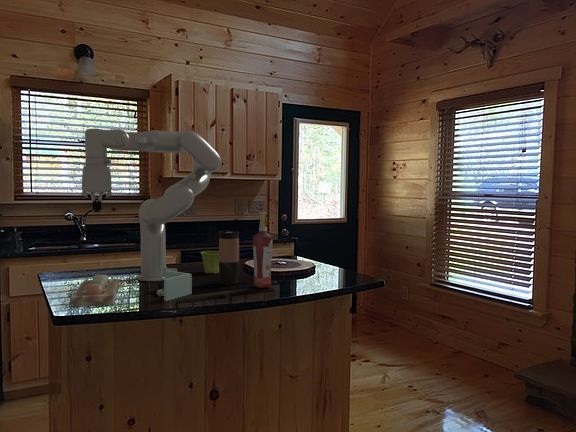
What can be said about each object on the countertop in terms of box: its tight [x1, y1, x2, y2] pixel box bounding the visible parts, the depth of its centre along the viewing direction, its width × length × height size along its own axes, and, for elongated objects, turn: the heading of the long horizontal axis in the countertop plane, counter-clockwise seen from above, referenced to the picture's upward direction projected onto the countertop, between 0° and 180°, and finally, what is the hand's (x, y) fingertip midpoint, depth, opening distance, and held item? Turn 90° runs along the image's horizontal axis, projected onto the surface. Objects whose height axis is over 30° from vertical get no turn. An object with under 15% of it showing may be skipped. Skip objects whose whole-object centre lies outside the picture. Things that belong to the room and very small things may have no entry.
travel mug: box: [218, 229, 240, 286], centre depth 187 cm, size 8×8×20 cm
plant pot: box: [200, 250, 219, 274], centre depth 208 cm, size 9×9×9 cm
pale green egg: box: [89, 278, 105, 289], centre depth 165 cm, size 5×5×5 cm
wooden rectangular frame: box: [71, 278, 120, 308], centre depth 165 cm, size 12×26×3 cm, turn 15°
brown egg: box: [86, 284, 103, 295], centre depth 157 cm, size 5×5×5 cm
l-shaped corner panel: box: [156, 270, 193, 302], centre depth 167 cm, size 12×12×8 cm
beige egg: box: [92, 274, 108, 284], centre depth 172 cm, size 5×5×5 cm
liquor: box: [252, 211, 274, 289], centre depth 180 cm, size 7×7×28 cm
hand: (97, 211), depth 183 cm, fingers closed
